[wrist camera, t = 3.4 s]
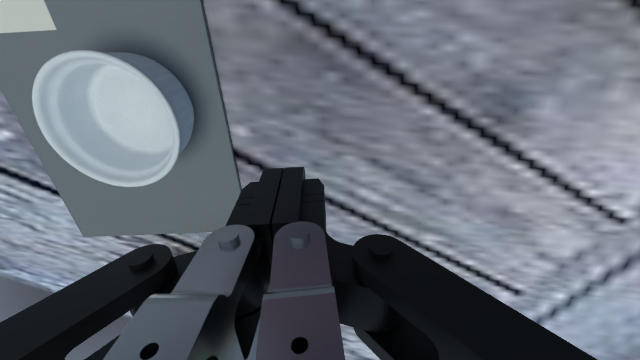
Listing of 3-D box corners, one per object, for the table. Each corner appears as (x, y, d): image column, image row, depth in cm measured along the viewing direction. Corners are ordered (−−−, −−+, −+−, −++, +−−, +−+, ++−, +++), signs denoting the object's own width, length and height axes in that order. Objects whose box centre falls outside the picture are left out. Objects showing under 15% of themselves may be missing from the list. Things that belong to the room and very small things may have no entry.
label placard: (-93, -90, 17) (-102, -93, 17) (179, -109, 17) (176, -112, 16) (86, 234, 29) (83, 237, 29) (249, 227, 28) (248, 230, 28)
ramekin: (70, 126, 23) (21, 147, 19) (94, 16, 20) (40, 16, 16) (180, 179, 25) (155, 207, 22) (220, 88, 22) (199, 104, 18)
